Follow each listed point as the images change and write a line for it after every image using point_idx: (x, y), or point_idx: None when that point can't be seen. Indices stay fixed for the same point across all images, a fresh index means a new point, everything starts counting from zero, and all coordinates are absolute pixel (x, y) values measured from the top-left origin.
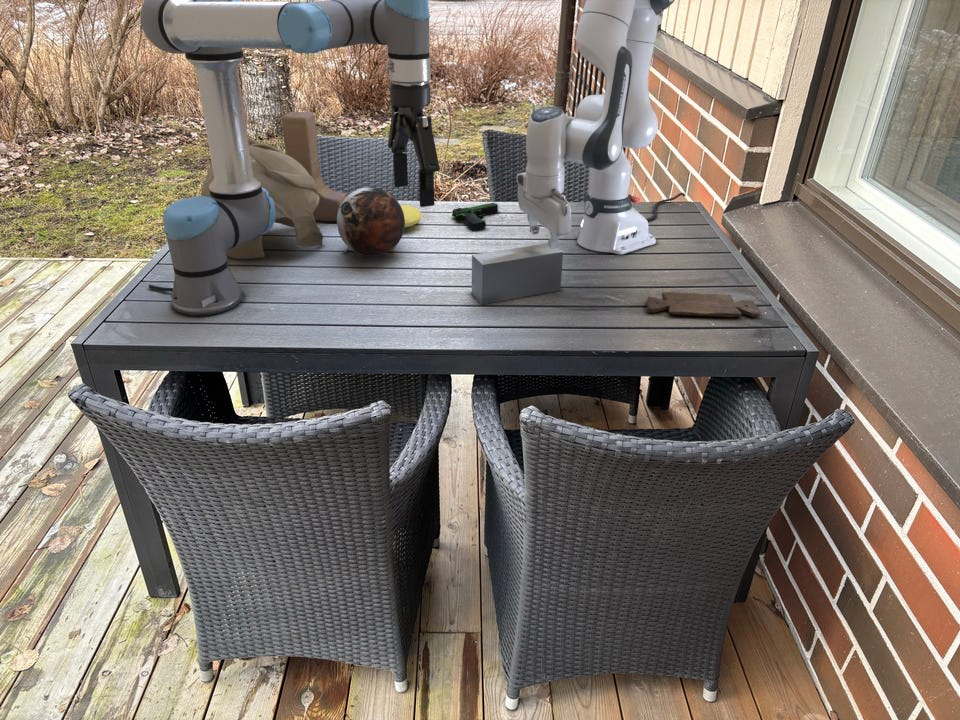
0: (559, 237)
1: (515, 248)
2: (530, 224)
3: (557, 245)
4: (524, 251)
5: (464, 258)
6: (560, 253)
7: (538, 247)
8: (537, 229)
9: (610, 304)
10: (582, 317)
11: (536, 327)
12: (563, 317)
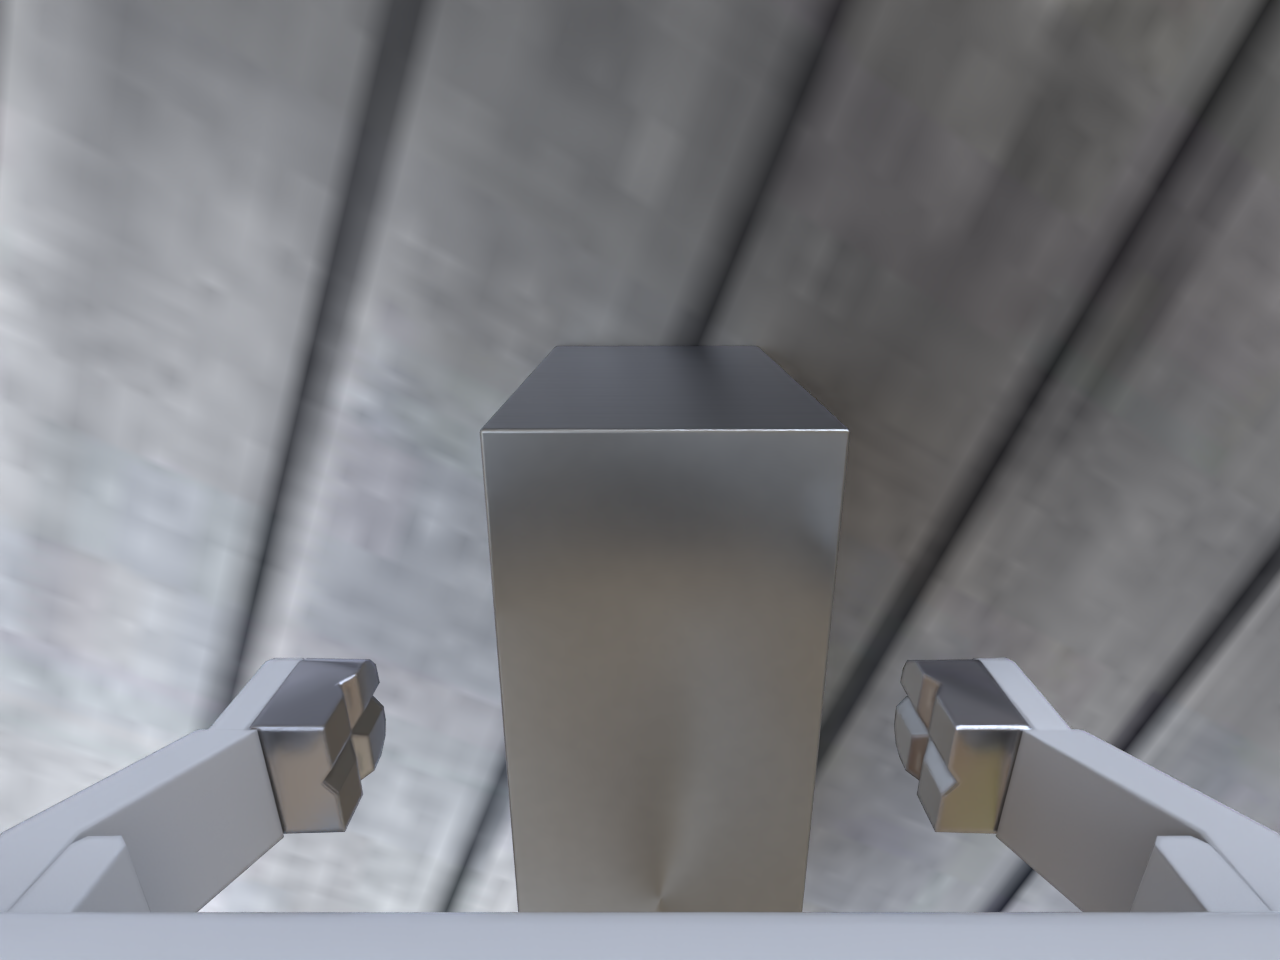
0: (1188, 792)
1: (524, 869)
2: (243, 866)
3: (1023, 672)
4: (642, 829)
5: (14, 725)
6: (843, 467)
7: (586, 651)
8: (346, 720)
9: (1183, 72)
10: (1213, 416)
11: (1138, 730)
12: (1132, 534)
